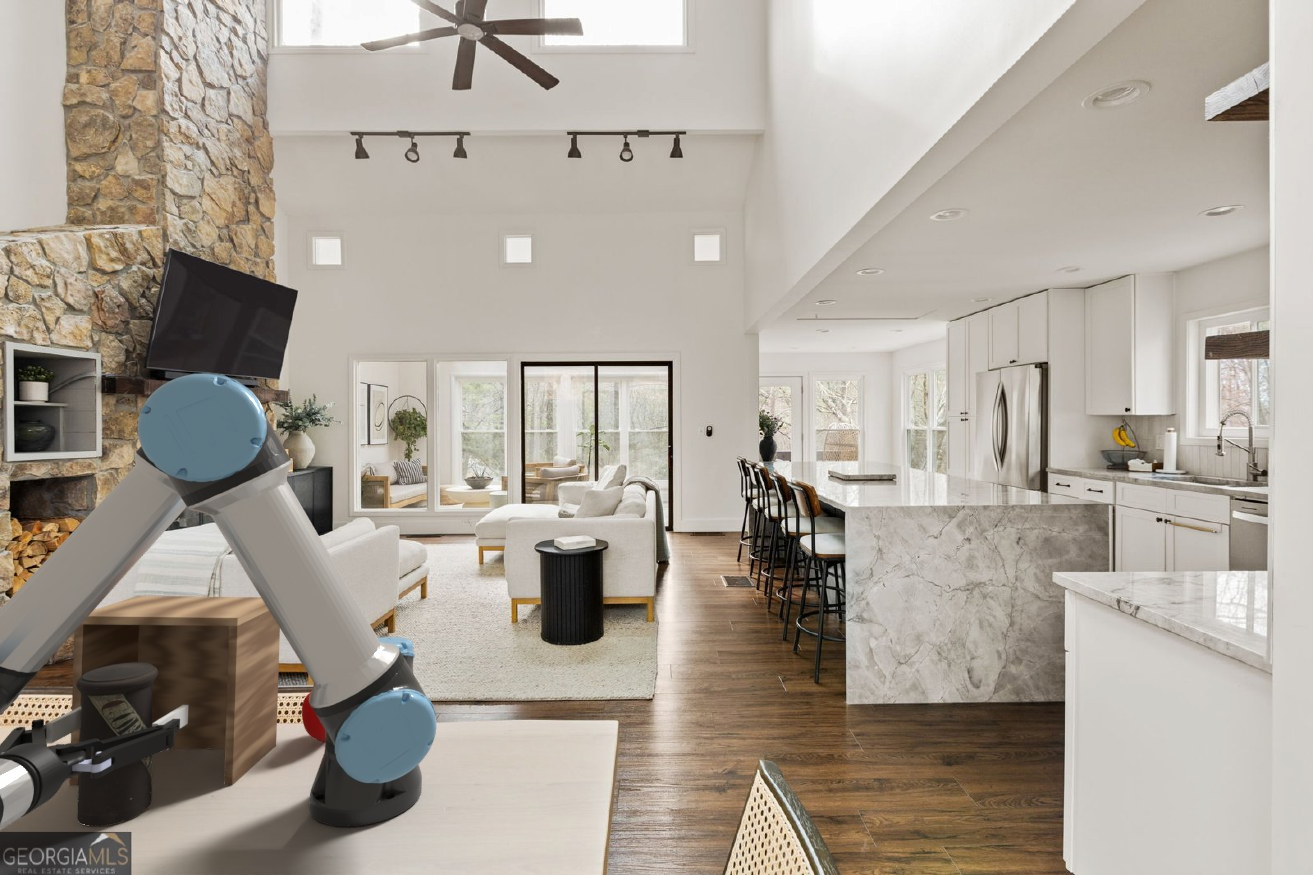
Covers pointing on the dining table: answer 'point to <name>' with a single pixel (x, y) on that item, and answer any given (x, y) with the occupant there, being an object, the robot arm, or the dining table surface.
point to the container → (108, 711)
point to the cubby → (195, 668)
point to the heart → (312, 721)
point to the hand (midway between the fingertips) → (136, 713)
